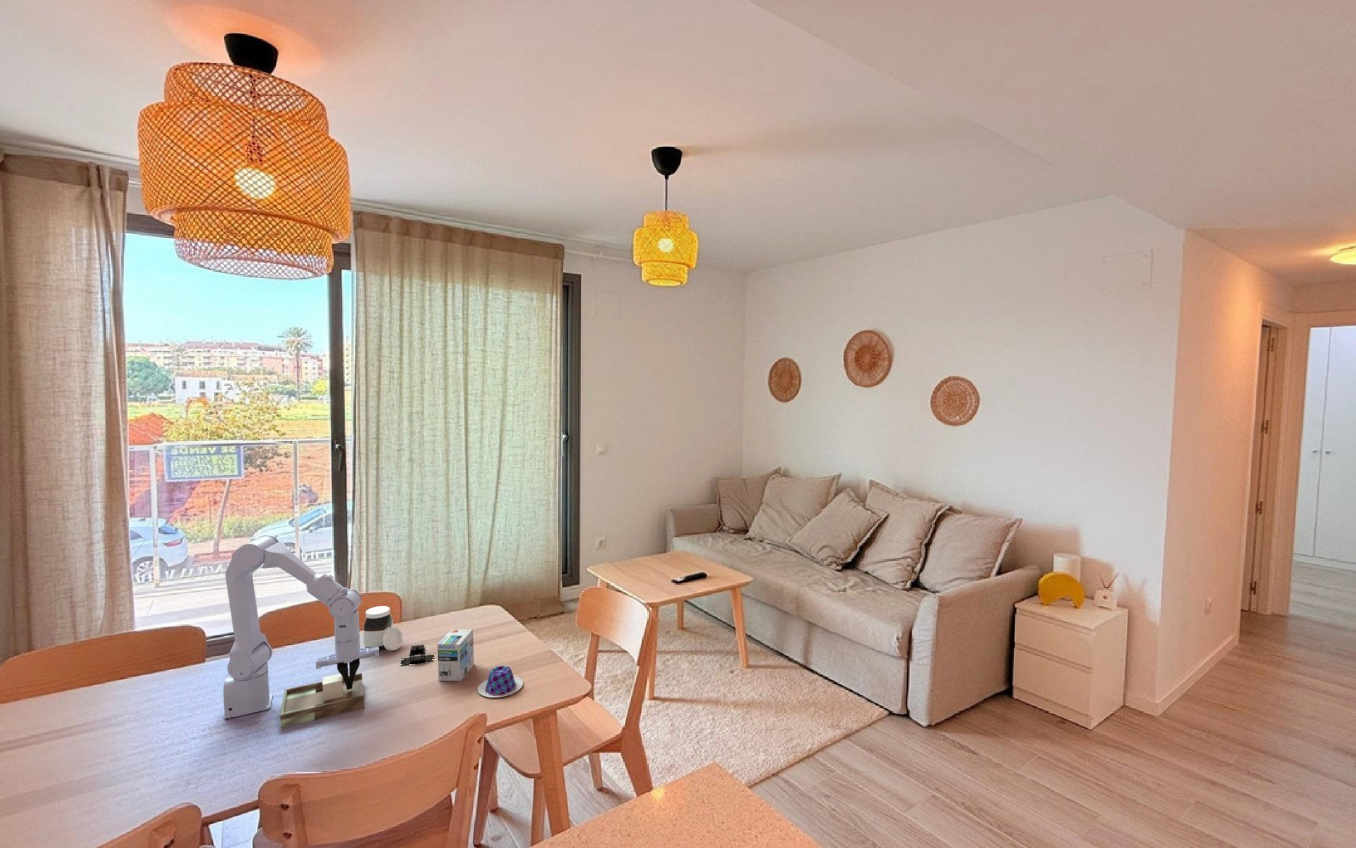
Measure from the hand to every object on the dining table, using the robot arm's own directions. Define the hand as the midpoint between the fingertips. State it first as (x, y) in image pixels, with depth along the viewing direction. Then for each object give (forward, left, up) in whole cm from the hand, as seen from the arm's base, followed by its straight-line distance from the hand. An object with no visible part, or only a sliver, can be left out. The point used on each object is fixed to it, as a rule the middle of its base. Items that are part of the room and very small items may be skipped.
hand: (349, 687), depth 158 cm
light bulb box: (+27, +1, -3) cm, 27 cm away
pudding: (+36, -14, -4) cm, 39 cm away
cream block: (-4, 0, -1) cm, 4 cm away
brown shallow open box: (-6, 0, -3) cm, 7 cm away
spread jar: (+10, +30, -3) cm, 32 cm away
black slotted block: (+18, +15, -4) cm, 24 cm away
